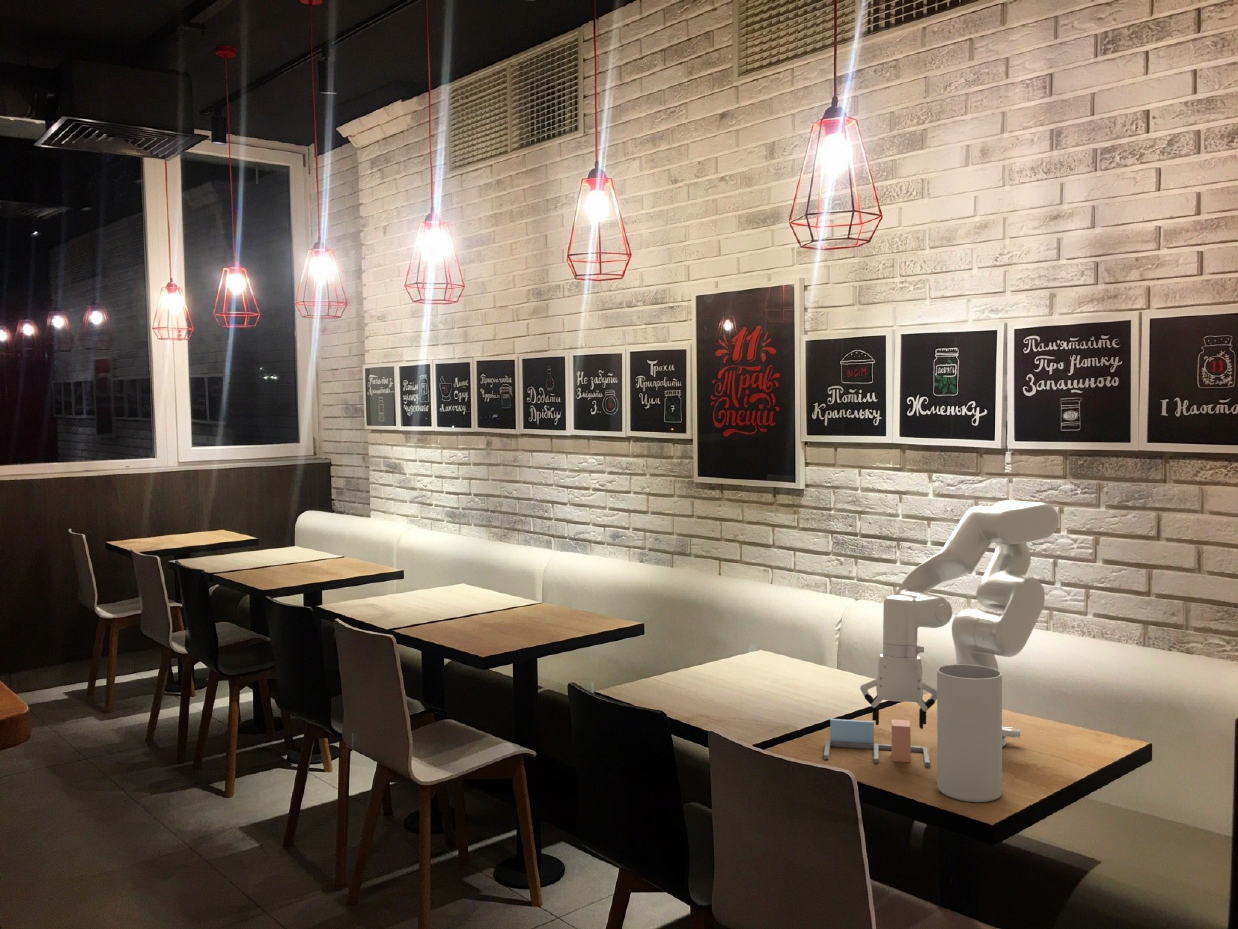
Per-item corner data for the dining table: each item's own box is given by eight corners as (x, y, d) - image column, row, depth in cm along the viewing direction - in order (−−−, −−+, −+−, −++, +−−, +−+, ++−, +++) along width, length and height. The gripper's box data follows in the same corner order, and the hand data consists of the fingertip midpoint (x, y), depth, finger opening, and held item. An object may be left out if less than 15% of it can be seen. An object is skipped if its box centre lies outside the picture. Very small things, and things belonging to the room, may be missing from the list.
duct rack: (927, 750, 226) (926, 724, 226) (929, 767, 214) (929, 740, 214) (826, 743, 232) (826, 718, 231) (823, 759, 220) (823, 733, 220)
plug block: (909, 755, 223) (909, 720, 222) (910, 762, 218) (910, 727, 218) (891, 754, 224) (891, 719, 223) (892, 761, 219) (891, 725, 219)
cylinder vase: (1012, 791, 199) (1012, 670, 198) (986, 808, 190) (985, 682, 190) (954, 777, 208) (953, 661, 207) (926, 793, 199) (926, 672, 198)
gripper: (938, 649, 221) (937, 724, 222) (861, 645, 226) (860, 718, 226) (941, 656, 214) (940, 733, 214) (860, 651, 219) (859, 727, 219)
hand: (898, 725), depth 220 cm, fingers open, 9 cm apart
